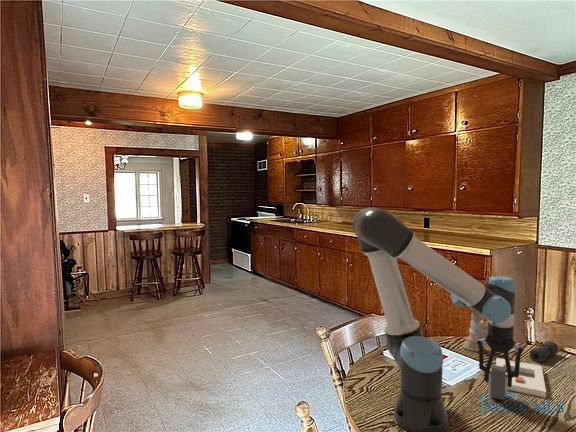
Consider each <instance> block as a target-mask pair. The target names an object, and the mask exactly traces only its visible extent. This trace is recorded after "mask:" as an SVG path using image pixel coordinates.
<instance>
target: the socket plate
mask: <svg viewBox="0 0 576 432" xmlns="http://www.w3.org/2000/svg"><path fill="white" fill-rule="evenodd" d="M509 360H510V365H511V370H512V372H514V370H515V360H511V359H509ZM495 365H497V366H502V367H506V364H505V358H500V357H496V359H495ZM506 374H507V369H506ZM507 375H508V374H507ZM507 391H513V392H518V393H522V394H526V395H532V396H536V397H541V398H547V390H546V384H545V378H544V373H543V366H542V365H537V364H533V363H527V362H522V361H520V367H519V377H513V378H512V386H511V387H508V388H507Z"/></svg>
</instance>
